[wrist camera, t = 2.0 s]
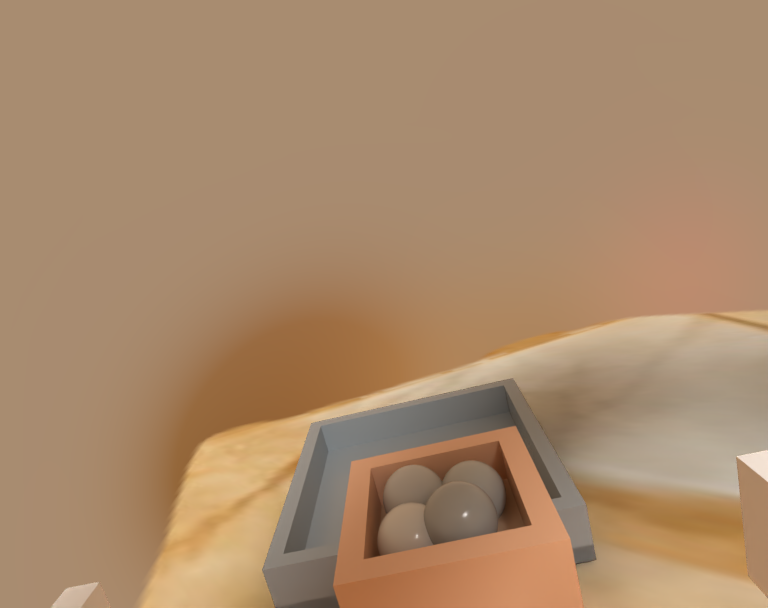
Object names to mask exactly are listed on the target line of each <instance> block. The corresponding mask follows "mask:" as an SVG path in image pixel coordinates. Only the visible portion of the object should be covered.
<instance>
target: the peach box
mask: <svg viewBox="0 0 768 608" xmlns="http://www.w3.org/2000/svg"><path fill="white" fill-rule="evenodd" d="M333 588H334V591H335V594H336V597H337V600H338V603H339V606H340V608H584V606H583V601H582V596H581V591H580V586H579V581H578V576H577V570H576V565H575V560H574V555H573V550H572V545H571V540H570V537H569V535H568V533H567V531H566V529H565V527H564V525H563V522H562V520H561V518H560V516H559V514H558V512H557V510H556V508H555V506H554V504H553V502H552V500H551V498H550V496H549V494H548V492H547V489H546V487H545V485H544V483H543V481H542V479H541V477H540V475H539V473H538V471H537V469H536V467H535V465H534V463H533V461H532V458H531V456H530V454H529V452H528V450H527V448H526V446H525V444H524V442H523V440H522V438H521V436H520V434H519V432H518V430H517V427H516V426H512V427H507V428H503V429H498V430H494V431H489V432H485V433H480V434H475V435H471V436H466V437H462V438H457V439H452V440H448V441H443V442H439V443H434V444H429V445H425V446H420V447H416V448H411V449H406V450H402V451H397V452H393V453H388V454H383V455H379V456H374V457H370V458H365V459H360V460H356V461H351V468H350V475H349V481H348V488H347V495H346V502H345V508H344V515H343V522H342V529H341V535H340V542H339V549H338V556H337V562H336V569H335V576H334V582H333Z"/></svg>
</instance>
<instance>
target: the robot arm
mask: <svg viewBox="0 0 768 608" xmlns="http://www.w3.org/2000/svg"><path fill="white" fill-rule="evenodd" d="M736 459H737V469H738V479H739V489H740V499H741V509H742V519H743V529H744V539H745V549H746V559H747V569H748V576H749V577H750V579H751V580H752V581H753V582H754V583H755V584H756V585H757V586H758V588H759V589H760V590H761V591H762V592H763V593H764V594H765V595H766V597H767V598H768V450H765V451H760V452H755V453H750V454H745V455H740V456H736ZM51 608H111V607H110V605H109V602H108V600H107V597H106V595H105V593H104V590H103V588H102V586H101V583H100V582H96V583H91V584H86V585H80V586H75V587H70V588H66V589H65V590H64V592H63V593H62V594H61V595H60V597H59V598H58V599H57V600H56V602H55V603H54V604H53V605H52V607H51Z"/></svg>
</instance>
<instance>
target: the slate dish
mask: <svg viewBox="0 0 768 608" xmlns="http://www.w3.org/2000/svg"><path fill="white" fill-rule="evenodd" d="M512 426H516V427H517V430H518V432H519V434H520V436H521V438H522V440H523V442H524V444H525V446H526V448H527V450H528V452H529V454H530V456H531V458H532V461H533V463H534V465H535V467H536V469H537V471H538V473H539V475H540V477H541V479H542V481H543V483H544V485H545V487H546V489H547V492H548V494H549V496H550V498H551V500H552V502H553V504H554V506H555V508H556V510H557V512H558V514H559V516H560V518H561V520H562V522H563V525H564V527H565V529H566V531H567V533H568V535H569V537H570V540H571V545H572V550H573V555H574V560H575V564H577V563H582V562H587V561H592V560H596V556H595V550H594V545H593V539H592V534H591V528H590V523H589V517H588V512H587V506H586V503H585V502H584V500H583V498H582V496H581V495H580V493H579V491H578V489H577V488H576V486H575V484H574V483H573V481H572V479H571V477H570V476H569V474H568V472H567V471H566V469H565V467H564V465H563V464H562V462H561V460H560V459H559V457H558V455H557V453H556V452H555V450H554V448H553V446H552V445H551V443H550V441H549V440H548V438H547V436H546V434H545V433H544V431H543V429H542V428H541V426H540V424H539V422H538V421H537V419H536V417H535V416H534V414H533V412H532V410H531V409H530V407H529V405H528V404H527V402H526V400H525V398H524V397H523V395H522V393H521V391H520V390H519V388H518V386H517V385H516V383H515V381H514V379H513V378H512V379H507V380H503V381H498V382H494V383H489V384H485V385H480V386H476V387H471V388H467V389H462V390H458V391H453V392H449V393H444V394H440V395H436V396H431V397H427V398H422V399H418V400H413V401H409V402H404V403H400V404H395V405H391V406H386V407H382V408H377V409H373V410H368V411H364V412H359V413H355V414H350V415H346V416H341V417H337V418H332V419H328V420H323V421H319V422H314V423H311V426H310V429H309V432H308V435H307V438H306V441H305V444H304V447H303V450H302V453H301V456H300V459H299V462H298V465H297V468H296V471H295V474H294V477H293V480H292V483H291V486H290V489H289V492H288V495H287V498H286V501H285V504H284V507H283V510H282V513H281V516H280V519H279V522H278V525H277V528H276V530H275V533H274V536H273V539H272V542H271V545H270V548H269V551H268V554H267V557H266V560H265V563H264V566H263V569H262V571H263V574H264V576H265V579H266V582H267V585H268V588H269V591H270V593H271V596H272V599H273V602H274V605H275V608H340V606H339V603H338V600H337V597H336V594H335V591H334V588H333V582H334V576H335V569H336V562H337V556H338V549H339V542H340V535H341V529H342V522H343V515H344V508H345V502H346V495H347V488H348V481H349V475H350V468H351V461H356V460H360V459H365V458H370V457H374V456H379V455H383V454H388V453H393V452H397V451H402V450H406V449H411V448H416V447H420V446H425V445H429V444H434V443H439V442H443V441H448V440H452V439H457V438H462V437H466V436H471V435H475V434H480V433H485V432H489V431H494V430H498V429H503V428H507V427H512Z"/></svg>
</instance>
